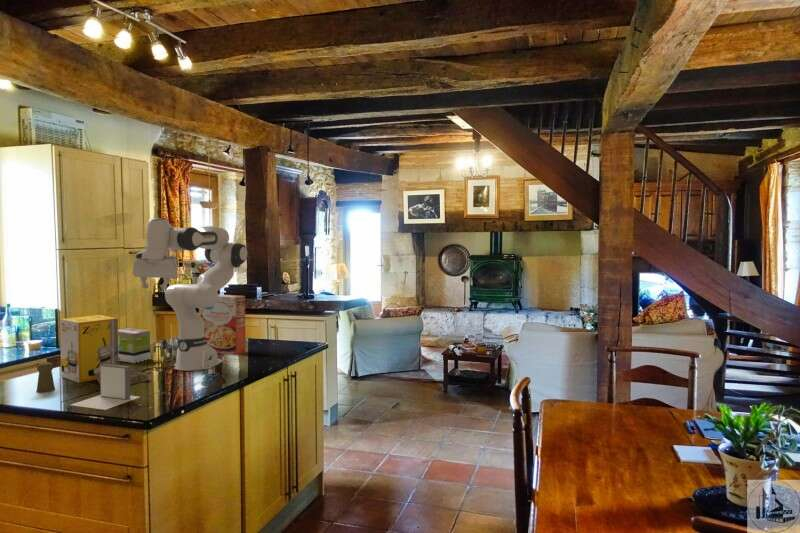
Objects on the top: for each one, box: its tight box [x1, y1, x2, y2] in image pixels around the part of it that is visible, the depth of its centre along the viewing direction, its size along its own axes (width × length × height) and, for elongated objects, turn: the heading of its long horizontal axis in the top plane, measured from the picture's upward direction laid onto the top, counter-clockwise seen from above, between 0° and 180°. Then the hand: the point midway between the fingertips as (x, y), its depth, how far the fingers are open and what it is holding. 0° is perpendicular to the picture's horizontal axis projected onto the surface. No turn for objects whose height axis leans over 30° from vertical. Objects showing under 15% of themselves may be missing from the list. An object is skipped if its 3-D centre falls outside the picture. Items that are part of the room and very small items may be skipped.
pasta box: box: [198, 294, 246, 356], centre depth 279 cm, size 23×8×30 cm, turn 71°
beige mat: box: [70, 394, 140, 411], centre depth 191 cm, size 16×16×1 cm
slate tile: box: [99, 364, 131, 400], centre depth 195 cm, size 2×12×12 cm, turn 73°
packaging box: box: [59, 314, 120, 384], centre depth 227 cm, size 16×16×25 cm
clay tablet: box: [96, 370, 150, 385], centre depth 220 cm, size 14×5×20 cm
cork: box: [36, 361, 56, 394], centre depth 205 cm, size 6×6×11 cm
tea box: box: [118, 327, 151, 364], centre depth 258 cm, size 15×10×15 cm
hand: (154, 288), depth 221 cm, fingers open, 8 cm apart
